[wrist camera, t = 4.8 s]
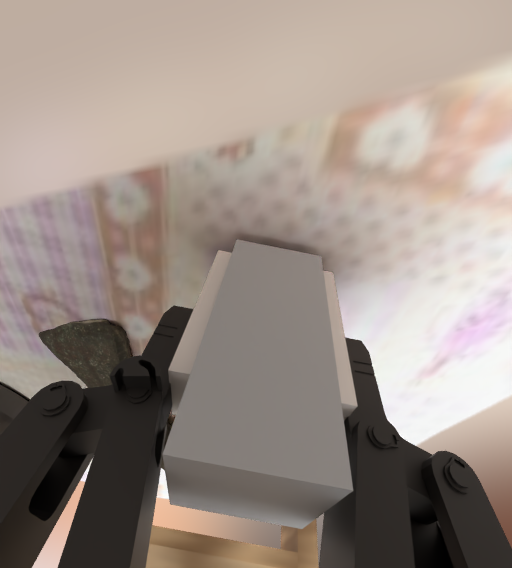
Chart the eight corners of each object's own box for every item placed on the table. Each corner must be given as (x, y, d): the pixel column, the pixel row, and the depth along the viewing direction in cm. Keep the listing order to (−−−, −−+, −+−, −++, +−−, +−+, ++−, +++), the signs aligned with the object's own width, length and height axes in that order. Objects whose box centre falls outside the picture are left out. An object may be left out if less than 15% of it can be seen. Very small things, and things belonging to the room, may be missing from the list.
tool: (47, 313, 21) (10, 340, 19) (125, 306, 19) (94, 337, 17) (158, 453, 32) (143, 483, 29) (217, 460, 29) (207, 494, 27)
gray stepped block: (214, 411, 23) (178, 560, 16) (236, 239, 13) (162, 454, 6) (260, 420, 23) (244, 572, 16) (321, 256, 13) (353, 490, 6)
